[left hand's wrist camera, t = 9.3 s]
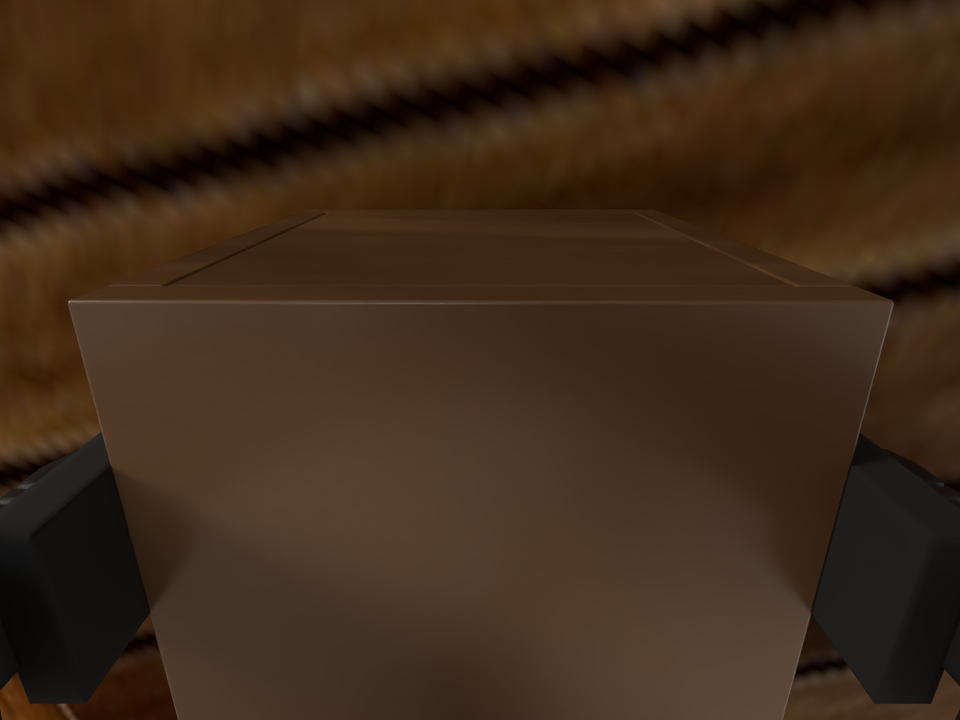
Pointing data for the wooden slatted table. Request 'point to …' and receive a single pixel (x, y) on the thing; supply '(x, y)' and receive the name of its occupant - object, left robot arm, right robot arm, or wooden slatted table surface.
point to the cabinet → (480, 463)
